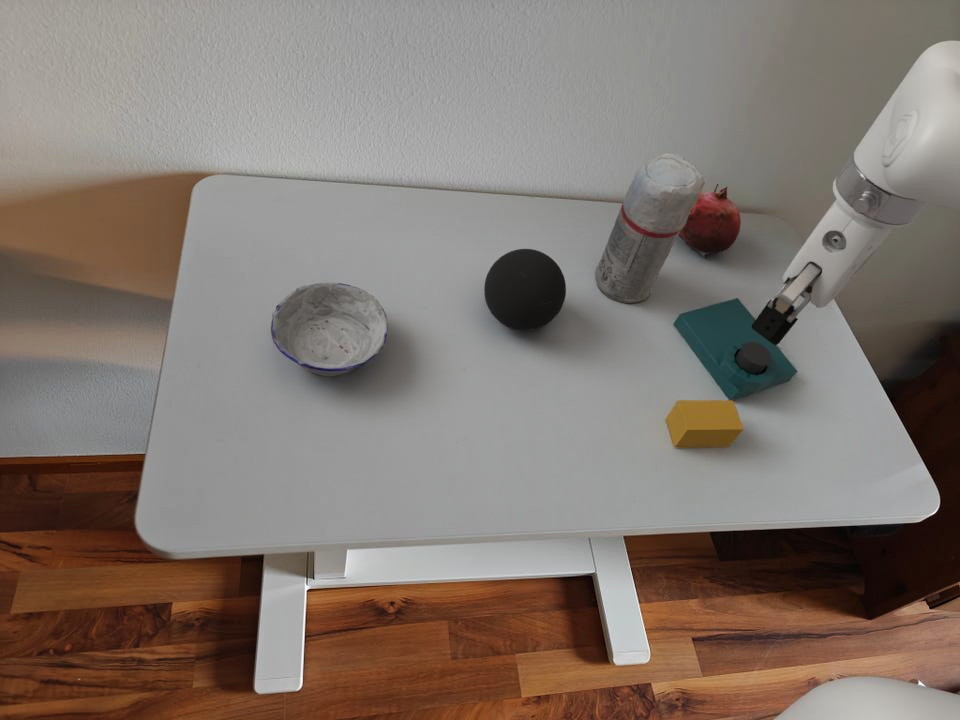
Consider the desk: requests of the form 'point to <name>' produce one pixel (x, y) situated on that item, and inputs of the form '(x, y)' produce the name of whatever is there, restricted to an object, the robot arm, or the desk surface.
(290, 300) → the bowl
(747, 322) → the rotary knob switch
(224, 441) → the desk surface
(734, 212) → the fruit
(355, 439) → the desk surface
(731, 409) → the sponge
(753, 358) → the dark gray cylinder
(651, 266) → the spray can
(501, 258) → the speaker
